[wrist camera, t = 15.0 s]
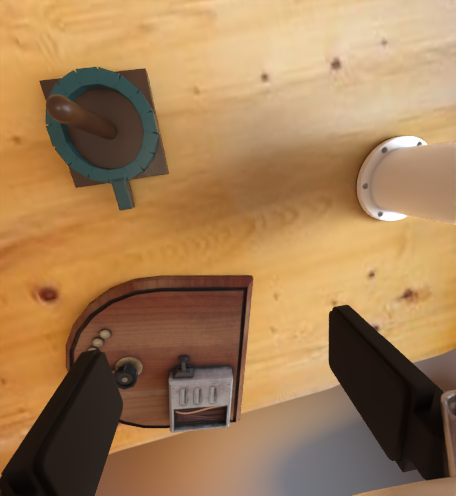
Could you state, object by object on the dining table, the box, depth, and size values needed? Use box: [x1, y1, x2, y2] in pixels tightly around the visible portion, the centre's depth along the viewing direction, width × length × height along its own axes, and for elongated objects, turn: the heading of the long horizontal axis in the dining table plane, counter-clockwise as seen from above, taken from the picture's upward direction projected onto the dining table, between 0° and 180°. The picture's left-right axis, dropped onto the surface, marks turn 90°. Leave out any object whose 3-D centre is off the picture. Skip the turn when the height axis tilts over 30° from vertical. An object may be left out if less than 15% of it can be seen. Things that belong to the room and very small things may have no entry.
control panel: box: [66, 276, 253, 432], centre depth 40 cm, size 31×5×30 cm
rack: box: [40, 69, 169, 188], centre depth 24 cm, size 12×12×13 cm
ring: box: [46, 67, 159, 210], centre depth 29 cm, size 12×16×2 cm
